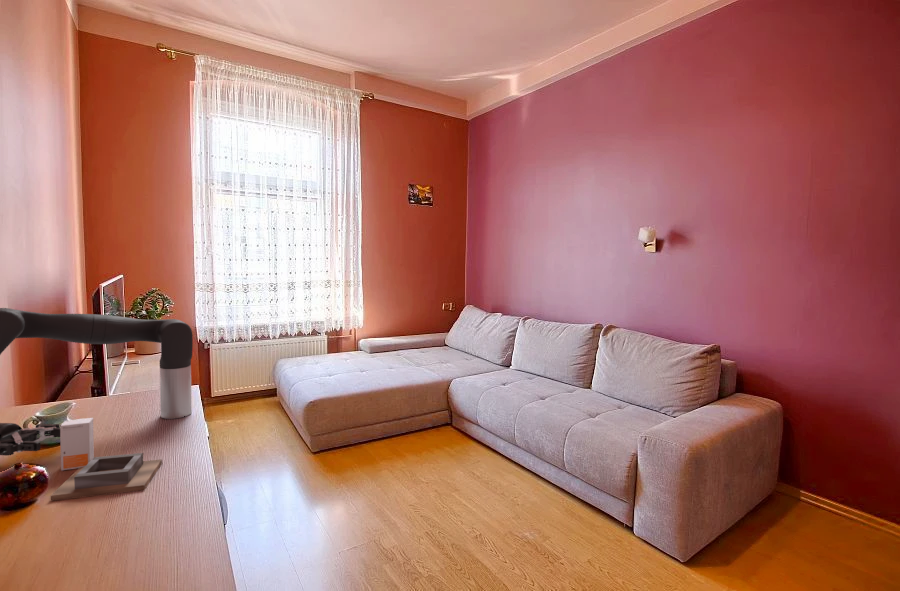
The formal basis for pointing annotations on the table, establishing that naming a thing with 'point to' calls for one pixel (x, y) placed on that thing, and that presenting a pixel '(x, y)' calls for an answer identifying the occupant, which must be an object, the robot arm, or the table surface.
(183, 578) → the table surface
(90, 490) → the socket stand
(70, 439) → the skincare box
